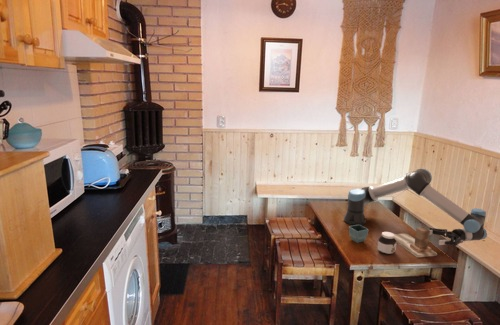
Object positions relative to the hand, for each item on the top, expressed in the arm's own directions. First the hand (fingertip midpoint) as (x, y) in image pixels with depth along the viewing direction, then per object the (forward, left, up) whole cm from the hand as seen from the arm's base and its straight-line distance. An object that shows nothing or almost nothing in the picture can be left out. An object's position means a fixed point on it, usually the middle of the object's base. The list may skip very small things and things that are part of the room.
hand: (430, 237), depth 198 cm
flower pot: (-35, +21, -9) cm, 42 cm away
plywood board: (-5, +9, -9) cm, 14 cm away
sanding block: (-5, +1, -8) cm, 9 cm away
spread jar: (-25, +6, -9) cm, 28 cm away
